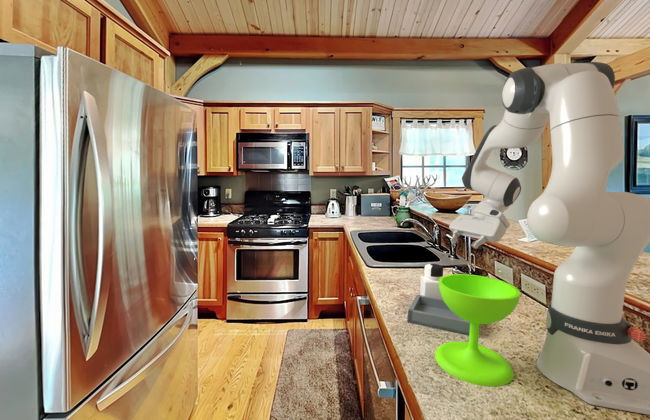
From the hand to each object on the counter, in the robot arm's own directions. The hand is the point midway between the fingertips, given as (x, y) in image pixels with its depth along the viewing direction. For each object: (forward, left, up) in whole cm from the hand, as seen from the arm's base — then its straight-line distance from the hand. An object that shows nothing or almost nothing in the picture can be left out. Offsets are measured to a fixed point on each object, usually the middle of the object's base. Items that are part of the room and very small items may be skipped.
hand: (462, 244), depth 108 cm
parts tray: (+3, +24, -18) cm, 31 cm away
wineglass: (-5, +44, -19) cm, 48 cm away
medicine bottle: (+8, +9, -19) cm, 22 cm away
